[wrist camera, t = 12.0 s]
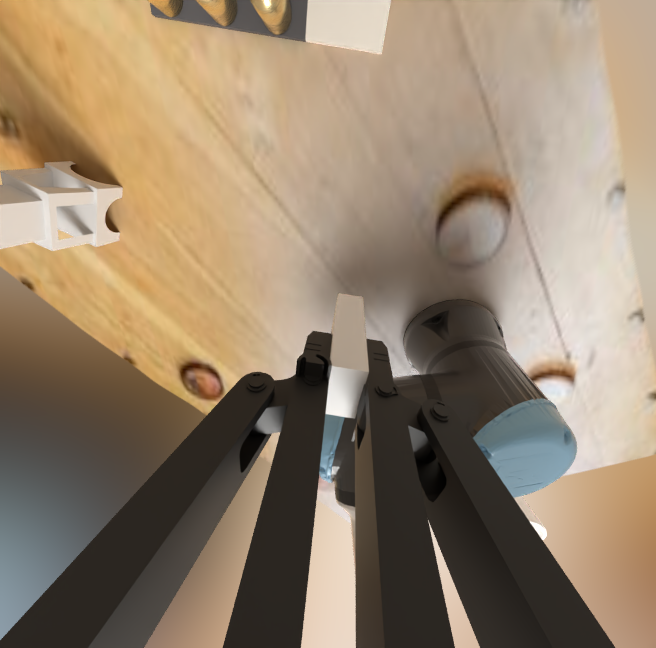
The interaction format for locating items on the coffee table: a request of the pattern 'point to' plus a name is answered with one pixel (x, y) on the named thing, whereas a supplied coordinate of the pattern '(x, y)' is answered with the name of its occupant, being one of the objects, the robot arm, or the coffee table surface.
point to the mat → (308, 21)
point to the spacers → (223, 9)
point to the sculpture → (54, 207)
